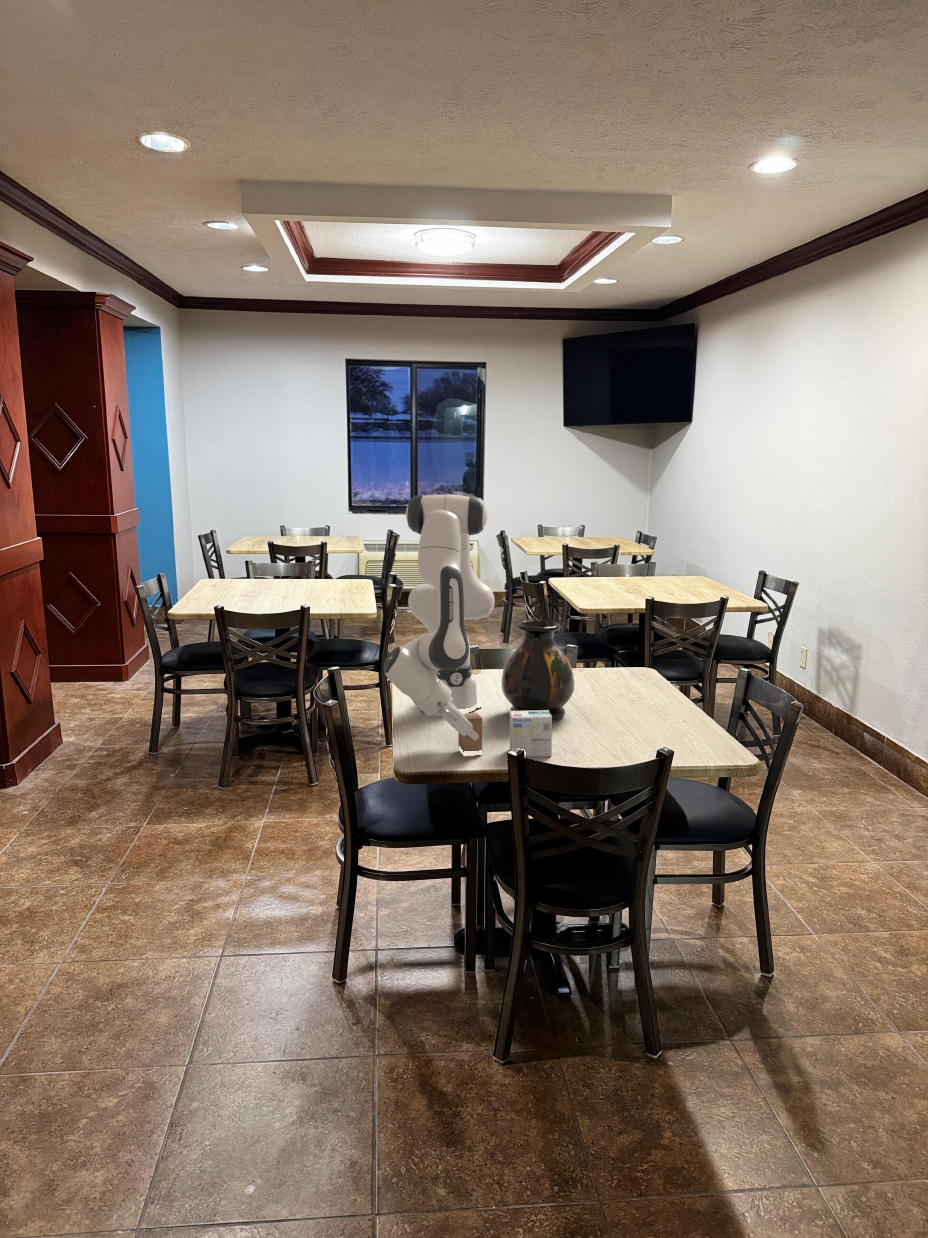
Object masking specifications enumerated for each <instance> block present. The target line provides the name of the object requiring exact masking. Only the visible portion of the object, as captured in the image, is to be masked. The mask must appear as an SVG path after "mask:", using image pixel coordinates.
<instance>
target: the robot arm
mask: <svg viewBox="0 0 928 1238" xmlns="http://www.w3.org/2000/svg"><path fill="white" fill-rule="evenodd" d="M485 503H486V502H485V501H484V500H483V499H482V498H481V497H477V496H474V495H471V496H467V495H460V494H453V493H452V494H451V493H450V494H449V493H448V494H429V495H425V494H419V495H414V496H413V497H411V499H409V501H408V504H407V507H406V510H405V518H406V523H407V526H408V528H409V529H410V530H411V531H412V532H414V533H416V534H418V535H420V536H419V537H420V538H419V542H418V552H417V553H418V554H417V568H418V574H419V576H420V578H422V580H423V581H424V582H425V583H424V584H419V585H415V586H414V587H413V588H412V589H411V591H410V593H409V595H408V600H407V604H408V608H409V611H410V613H411V614H412V615H413V616H414V617H415V618H416V619H418V620H419V621H420V622H421V623H422V624H423V625H424V627H425V628H426V629H427V631H428V632H427V633H423V634H420V635H419V636H417V637H416V638H415V639H413V640H412V641H411V642H409V643H406V644H404V645H401V646H396V647H394V648H393V649H392V650H391V651H390V653H388V655H387V656H386V658H385V660H384V663H383V672H384V674H385V676H386V678H387V679H388V680H389V681H390V682H391V683H392V684H393V685H394V686H395V687H396V688H397V689H398V690H399V691H400V692H401V693H402V694H404V695H406V696H408V697H409V698H410V699H411V701H412V702H413V704H415V706H416V707H418V708H419V709H420V710H421V712H422V711H423V712H422V713H424V714H425V715H427V716H428V717H430V716H431V717H432V716H436V717H440V716H441V717H442V718H443V719H444V720H445V721H446V722H447V723H448V724H449V725H450V726H451V727H452V728H454V730H456V732H458V734H459V733H460V734H461V735H463V736H466V735H468V736H470V737H471V738H472V739H473V740H475V741H476V740H477V739H478V738H479V735H478V734H477V733H476V732H475V731H474V730H473V729H472V728H473V725H472V724H471V723H470V722H469V721H468V719H467V718H466V717H465V716H464V715H463V714H462V713H461V712H460V711H459V710H458V709H466V708H471V707H473V706H475V705H476V704H477V702H478V696H477V694H478V693H477V683H476V680H474V679H473V678H472V671H473V668H472V664H471V643H470V642H471V641H470V638H469V637H468V636H467V633H466V629H465V628H466V627H465V621H466V620H469V621H471V620H477V619H483V618H488V617H489V616H490V614H492V612H493V611H494V607H495V603H496V602H495V601H496V600H495V595H494V593H493V590H492V589H491V588H490V586H488V585H487V584H486V583H485V582H482V580H480V579H479V577H478V576H477V575H476V573H475V572H474V569H473V567H472V562H471V561H472V559H471V536H475V535H479V534H480V533H482V532H483V531H484V529H485V527H486V524H487V522H488V521H487V520H488V510H487V507H486V504H485Z"/></svg>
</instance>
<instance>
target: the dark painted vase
mask: <svg viewBox="0 0 928 1238" xmlns="http://www.w3.org/2000/svg"><path fill="white" fill-rule="evenodd" d="M516 628H517V630H519V631H521V632H522V635H523V640H522V642H521V643H520V644H519V646H517V648H516V649H515V650H514V651H513V652H512V653H510V655H509V657H508V658H507V660H506V662H505V665H504V667H503V671H502V676H501V690H502V693H503V696H504V697H505V698H506V700H507V701H508V703H509V704H511V707H510V708H509V712H510V711H536V710H549V712H550V714H551V716H552V722H556V721H558V720H560V719H563V717H564V716H565V715H566V710H565V708H564V706H565V705H566V704H567V703H568V702H569V701H570V699H571V697H572V696H573V694H574V690H575V678H574V677H575V676H574V673H573V668H572V665H571V663H570V660H569V659H568V658H567V656H566V655H565V654H564V652H563V651H562V650H561V649H560V648H559V647H558V645H557V644H556V642H555V641H554V636H555V635H554V634H555V632H557V631H559V630H560V629H561V624H559V623H558V622H555V621H549V620H541V619H540V620H525V621H524V620H523V621H520V622H518V623H517V624H516Z"/></svg>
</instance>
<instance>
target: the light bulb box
mask: <svg viewBox="0 0 928 1238" xmlns="http://www.w3.org/2000/svg"><path fill="white" fill-rule="evenodd" d="M552 738H553V721H552V716H551V714H550V712H549V710H536V711H510V710H509V751H510V750H512V749H515V748H520V749H524V750H525V752H526V756H527V757H526V758H535V757H536V758H537V757H538V758H541V757H545V758H547V757H552V756H553V752H552V751H553V749H552V747H553V746H552V744H553V743H552V742H553V739H552Z"/></svg>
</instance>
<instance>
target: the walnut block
mask: <svg viewBox="0 0 928 1238" xmlns="http://www.w3.org/2000/svg"><path fill="white" fill-rule="evenodd" d="M463 715H464V716H465V717H466V718H467V719H468V721H469V722H470V723H471V724H472V725H473V728H472V729H473V730H474V731H475V732H476V733H477V734H478V735H479V738H478V739H477V740H476V741H475V740H473V739H472V738H471V737H470V736H468V735H466V736H463V735H461V734H460V733H459V732H458V747H459V746H460V747H461V749H462V750H463V752H464V751H479V750H482V751H483V717H482V716H481V715H480V714H479V712H471V713H466V714H463Z"/></svg>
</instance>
